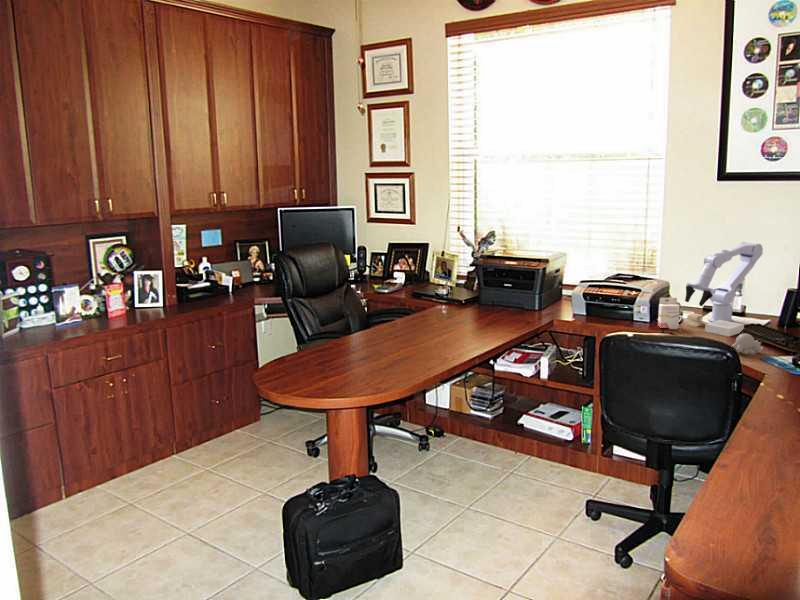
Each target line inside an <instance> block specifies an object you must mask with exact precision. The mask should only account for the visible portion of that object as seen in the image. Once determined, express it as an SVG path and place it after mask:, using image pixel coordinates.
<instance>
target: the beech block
mask: <svg viewBox="0 0 800 600" xmlns="http://www.w3.org/2000/svg"><path fill="white" fill-rule="evenodd" d="M686 316H687V318H686V326H691V327H695V328H697V327H700V326H702V325H703V315H702V314H698V313H690V314H687V315H686Z"/></svg>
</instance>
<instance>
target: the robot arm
mask: <svg viewBox="0 0 800 600" xmlns="http://www.w3.org/2000/svg"><path fill="white" fill-rule="evenodd" d="M763 249H764V248H763V245H762V244H761V243H754V242H753V243H752V242H746V241H743V242H740V243H738V245H736V246H735V247H732V248H731V249H729V250H728V249H722V250H721V251H719V252H715V253H714V254H713V255H712V254H709V255H707V256H706V257H704V259H703V266H702V270H701V272H700V274H699V276H698V278H697V280H696V282H695V283H692V282H686V285H685V293H686V294H685V297H684V298H685V299H684V301H685V302H687V303H689V302H690V300H691V299H692V298H691V297H692V296H693V295H694V294H695V292H696V290H697V291H702V296H701V298H700V300H699V304H698V305H699V306H701V307H703V306H704V305H705V303H706V302H707V301H708V300H710V301H711V303H712V309H711V310H712V312H711V313H712V314H711V318H710V319H707V321H708V322H714V321H718V320H723V321H729V322H734V319H733V306H732V303H733V300H734V298H735V296H736V292H735V290H736V289H737V288H738V286H739V285H740V284H741V282H742V281H743V280H744V279H745V278H746V276H747V275H748V274H749V272H751V270H752V269H753V268H754V266H755V265H756V263H757V261H758V260H759V259H760V258H761V257H762V256H763V252H764V251H763ZM736 256H739V260H740V261H741V263H740V264H739V265H738V266H737V268H736V269H735V270H734V271H733V272H732V274H730V276H729V277H728V278H727V280H726V281H725V282H724V283H723V284H720V285H718V286H716V287H715V288H711V287H709V286H710V284H711V282H712V279H713V278H714V275H715V273H716V272H717V269H719V268H721V267H722V266H723V264H726V263H727V262H730V261H731V260H732V259H733V257H736Z"/></svg>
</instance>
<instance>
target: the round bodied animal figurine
mask: <svg viewBox="0 0 800 600" xmlns="http://www.w3.org/2000/svg"><path fill="white" fill-rule="evenodd" d="M762 343H763V342H762V341H759V339H756V340H755V338H754V337H753V335H751V334H749V333H744V332H743V333H739V335H737V337H736V339H735V343H733V344H732V345H731V347H732V346H733V347H734V348H735V349H736V350H737V351H736V350H735V351H736V352H737V353H738V352H739V353H741V354H743V355H745V356H747V355H749V353H750V350H752V351H753V352H754V353H756V354H760V353H761V352H762V350H763V349H764V346H761V344H762Z"/></svg>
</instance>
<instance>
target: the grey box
mask: <svg viewBox="0 0 800 600" xmlns="http://www.w3.org/2000/svg"><path fill="white" fill-rule="evenodd" d="M704 326H705V327H704V332H705V333H706V332H707V333H710V334H715V335H721V336H724V337H731V336H735V335H738V334H739V335H740V334H741V333H740V332H741V331H742V330H743V329H744V330H745V324H744V323H738V322H735V321H730V322H729V321H723V320H718V321H714V322H712V321H710V322H708V323H705V324H704Z"/></svg>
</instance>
